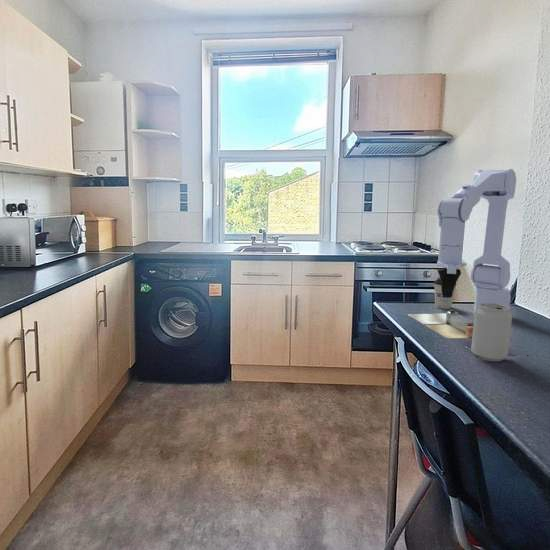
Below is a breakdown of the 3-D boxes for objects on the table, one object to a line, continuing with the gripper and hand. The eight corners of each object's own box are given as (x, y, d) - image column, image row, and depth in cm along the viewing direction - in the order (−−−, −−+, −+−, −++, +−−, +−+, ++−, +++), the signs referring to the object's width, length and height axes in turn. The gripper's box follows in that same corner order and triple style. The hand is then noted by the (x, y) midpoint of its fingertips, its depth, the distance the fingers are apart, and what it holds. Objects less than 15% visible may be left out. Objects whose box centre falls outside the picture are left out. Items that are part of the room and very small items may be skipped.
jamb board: (453, 315, 133) (454, 300, 132) (501, 339, 111) (503, 321, 110) (406, 316, 131) (408, 301, 130) (446, 341, 109) (448, 323, 108)
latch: (443, 321, 123) (444, 310, 122) (453, 321, 123) (454, 310, 123) (465, 333, 112) (466, 321, 111) (476, 333, 112) (477, 321, 112)
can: (511, 364, 94) (518, 310, 92) (475, 361, 96) (480, 308, 94) (501, 352, 102) (507, 302, 99) (467, 349, 103) (472, 300, 101)
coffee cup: (432, 305, 146) (434, 276, 144) (454, 308, 143) (457, 278, 141) (430, 310, 140) (432, 279, 138) (453, 313, 137) (456, 281, 135)
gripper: (471, 248, 104) (466, 304, 106) (464, 243, 118) (460, 292, 120) (440, 247, 106) (435, 301, 108) (437, 242, 120) (433, 290, 122)
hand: (446, 296), depth 114 cm, fingers closed
